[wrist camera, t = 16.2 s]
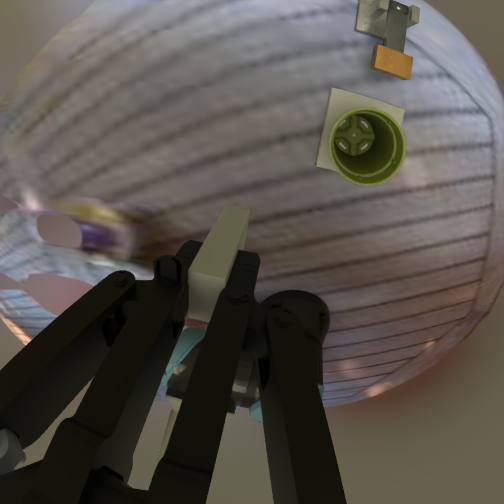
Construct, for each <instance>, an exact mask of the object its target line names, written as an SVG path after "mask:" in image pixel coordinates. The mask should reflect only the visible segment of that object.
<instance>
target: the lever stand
mask: <svg viewBox="0 0 504 504" xmlns="http://www.w3.org/2000/svg"><path fill="white" fill-rule="evenodd" d="M388 3H389V0H358V7H357V15H356V23H355V30H354V31H357V32H360V33H363V34H366V35H370V36H373V37H376V38H379V39H381V40H384V34H385V26H386V17H387V11H388ZM419 14H420V8H419V7H416V6H414V5H411V6H410V7H409V13H408V17H407V28H409V27H411V26H413V25H415V24H418V23H419ZM407 28H406V29H407Z"/></svg>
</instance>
